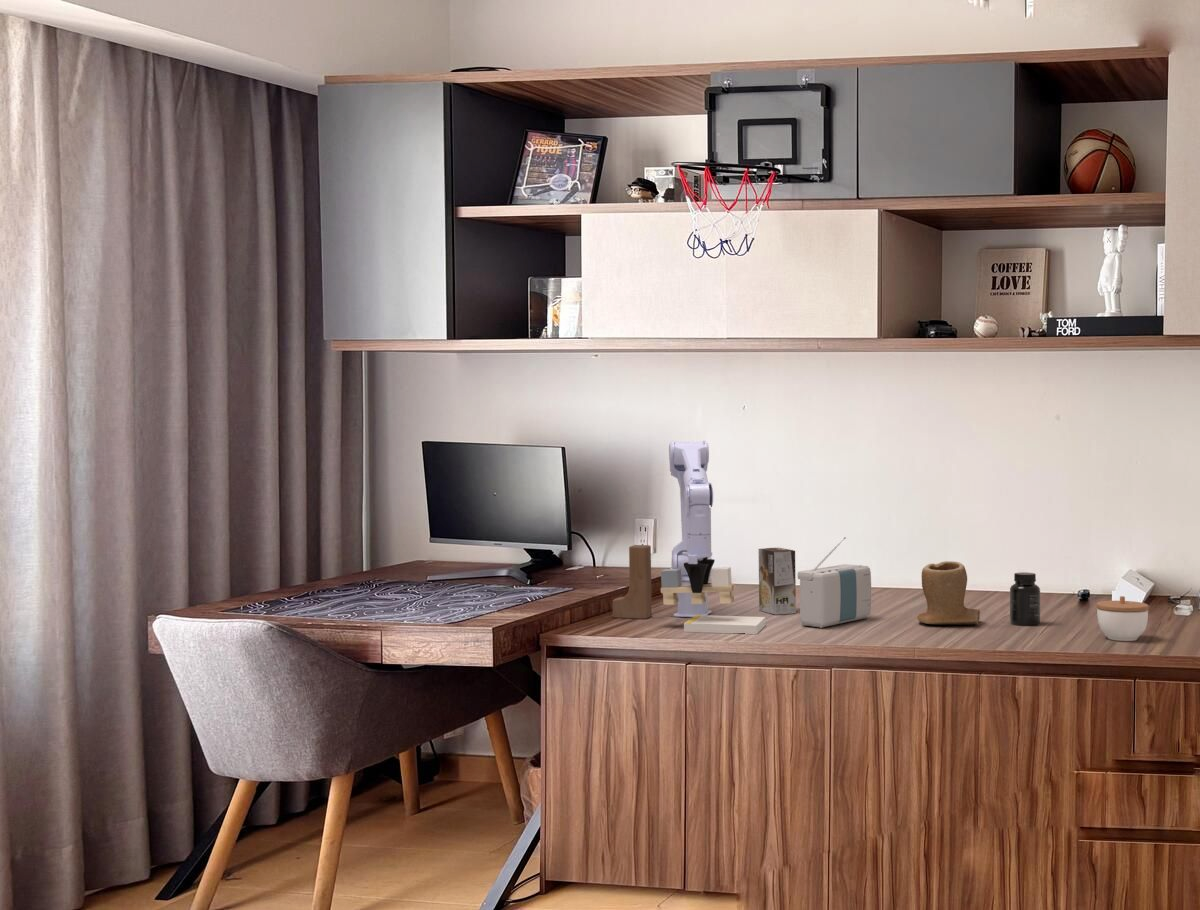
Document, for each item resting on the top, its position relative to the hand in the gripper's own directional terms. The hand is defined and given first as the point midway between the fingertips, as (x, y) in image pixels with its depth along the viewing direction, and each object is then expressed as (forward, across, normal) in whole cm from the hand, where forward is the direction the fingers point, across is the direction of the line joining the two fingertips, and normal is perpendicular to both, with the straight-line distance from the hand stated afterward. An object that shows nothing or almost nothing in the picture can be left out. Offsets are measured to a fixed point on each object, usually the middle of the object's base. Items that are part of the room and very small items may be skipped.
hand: (699, 591), depth 316 cm
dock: (+9, 0, +6) cm, 11 cm away
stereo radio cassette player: (+9, -14, +30) cm, 34 cm away
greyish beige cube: (-2, 0, +5) cm, 6 cm away
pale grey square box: (-1, 0, -7) cm, 7 cm away
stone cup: (+9, -16, +57) cm, 60 cm away
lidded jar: (+9, -5, +94) cm, 95 cm away
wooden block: (+9, -12, -20) cm, 25 cm away
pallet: (+3, 0, 0) cm, 3 cm away
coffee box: (+9, -28, +14) cm, 33 cm away
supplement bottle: (+9, -22, +74) cm, 78 cm away
